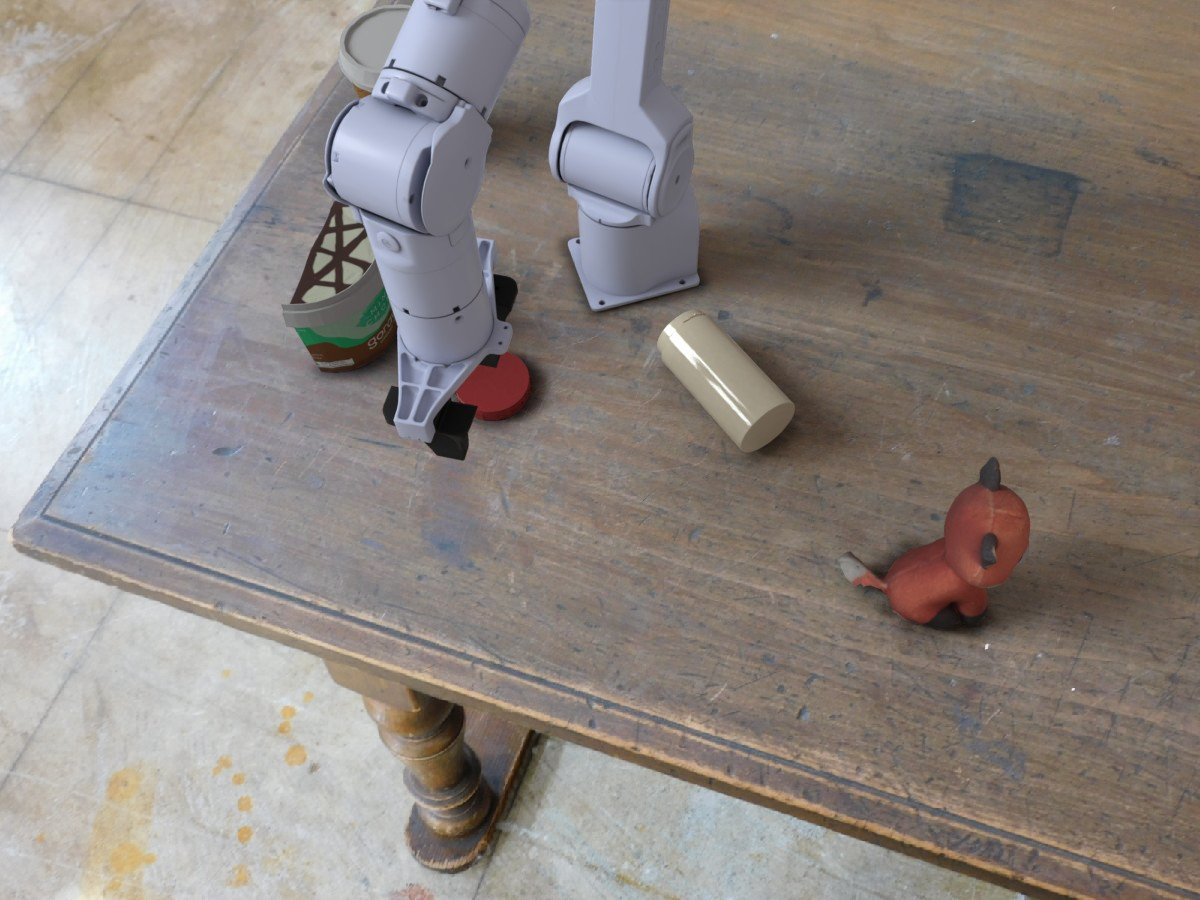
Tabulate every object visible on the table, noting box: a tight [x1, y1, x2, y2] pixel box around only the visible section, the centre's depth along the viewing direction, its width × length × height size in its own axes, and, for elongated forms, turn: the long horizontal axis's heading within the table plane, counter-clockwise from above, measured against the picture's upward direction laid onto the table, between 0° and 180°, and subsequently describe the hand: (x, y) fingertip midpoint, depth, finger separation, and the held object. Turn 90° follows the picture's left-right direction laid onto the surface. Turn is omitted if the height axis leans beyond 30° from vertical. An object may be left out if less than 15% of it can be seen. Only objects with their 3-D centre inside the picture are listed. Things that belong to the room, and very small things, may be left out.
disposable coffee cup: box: [337, 3, 412, 99], centre depth 95 cm, size 10×10×12 cm
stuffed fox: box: [837, 456, 1031, 631], centre depth 71 cm, size 8×11×12 cm
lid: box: [454, 351, 532, 421], centre depth 85 cm, size 6×6×1 cm
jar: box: [656, 309, 796, 453], centre depth 83 cm, size 5×5×11 cm
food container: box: [280, 198, 398, 373], centre depth 85 cm, size 12×6×10 cm, turn 168°
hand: (468, 406), depth 74 cm, fingers open, 7 cm apart
